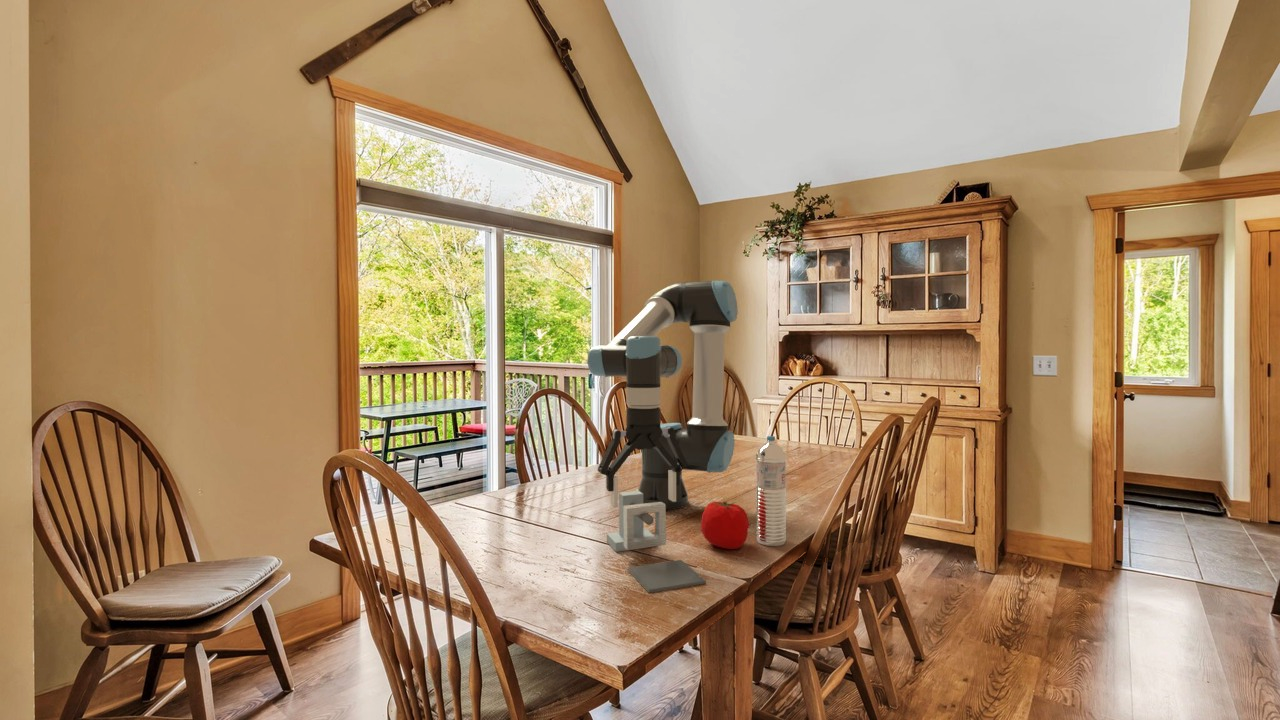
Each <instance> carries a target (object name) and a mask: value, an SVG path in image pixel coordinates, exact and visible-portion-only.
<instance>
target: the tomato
mask: <svg viewBox="0 0 1280 720" xmlns="http://www.w3.org/2000/svg"><path fill="white" fill-rule="evenodd" d="M736 503H737V501H735V502H732V503H728V502H727V501H712V502H710V503H707V506H706V507H705V508H704V511H703V512H702V516H701V521H700V528H701V533H702V536H703V537H704V538H705V540H706V541H707V542H708V543H710V544H711V545H713V546H716V547H718V548H722V549H725V550H726V549H727V550H738V549H739V548H741V547H743V545H744V544H745V542H747V537H748V532H749V529H750V521H749V516H748V514H747V512H746V511H745V509H744V508H742V507H741V506H740V505H738V504H736Z"/></svg>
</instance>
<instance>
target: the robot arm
mask: <svg viewBox="0 0 1280 720" xmlns="http://www.w3.org/2000/svg"><path fill="white" fill-rule="evenodd" d="M737 301H738V300H737V297H736V293H735V289H734V287H733V286H732V284H731V283H730V282H728V281H726V280H705V281H703V280H701V281H693V282H692V281H690V282H689V281H688V282H685V281H683V282H677V283H674V284H673V283H672V284H670V285H669V286H666V287H664V288H662V289H660V290H659V291H656V293H654V294H653V295H652V296H650V297H649V298H648V299H647V300H646V301H645V303H644V305H643V306H642V307H643V308H642V310H641V311H640V312H638V314H637V315H636V316H635V317H634V318H633V319H632V320H631V321H630V322H629V323H628V324H627V325H626V326H625V327H624V328H623V329H621V331H620V332H619V333H618V334H617V335H616V336H614V338H613V339H611V341H610V342H609V343H608V344H606V345H603V344H601V345H595V346H594V345H593V346H592V347H591V348H590V350H589V351H588V354H587V366H588V370H589V372H590V373H591V375H593V376H597V377H605V378H607V377H608V378H609V377H614V378H615V377H617V378H618V377H622V378H623V377H624V378H625V377H626V387H625V388H626V389H625V390H626V391H625V392H626V393H625V394H626V400H625V401H626V405H627V406H628V407H627V408H626V410H625V413H626V415H625V417H626V419H625V421H626V422H625V423H626V424H625V426H626V428H625V430H619V429H616V428H615V429H614V428H613V430H612V432H611V439H610V442H609V443H608V445H607V448H606V450H605V451H604V452H605V453H604V454H603V457H602V459H601V461H600V463H599V465H598V467H597V472H598V473H600V474H601V475H602V476H603V475H604V476H605V477H606V479H605V481H606V483H605V484H606V491H608V492H609V493H610V505H611V506H612V507H613V508H619V491H618V490H619V488H618V485H619V483H618V481H619V477H618V476H617V475H616V473H617V472H618V471H619V469H620V468H621V467H622V466H623V465H624V463H625V461H627V459H628V457H629V456H630V455H631V453H634V451H635V450H638V451H641V480H640V482H639V486H638V490H637V491H640V492H641V493H643V504H645V503H654V502H662V503H664V504H665V505H666V510H668V511H669V510H676V509H681V508H684V507H686V506H687V505H688V504H689V496H688V491H687V489H686V486H685V483H684V480H683V476H682V474H683V472H682V471H683V470H684V471H696V472H707V473H709V474H710V473H723V472H725V471H726V470H727V469H728V468H729V467H730V464H731V462H732V459H733V455H734V452H735V451H734V450H735V444H736V443H735V441H736V440H735V434H734V432H733V431H731V430H729V425H728V423H727V422H726V420H725V419H724V417H723V414H724V377H725V376H724V375H725V371H724V370H725V339H726V338H725V335H726V333H727V332H728V331H729V330H730V329H731V323H733V322H735V321H736V320H737V317H738V302H737ZM676 323H677V324H678V323H689V326H688V327H689V329H690V330H691V332H693V333H694V339H693V340H694V341H693V342H694V343H693V376H692V377H693V381H692V383H693V385H692V413H691V414H692V417H691V418H690V419H689V420H688V421H687V422H686V428H683V425H682V423H680V422H667V423H661V419H662V418H661V411H662V410H661V408H660V407H659V406H660V405H661V403H662V401H661V393H662V392H661V378H669V377H672V376H675V375H676V374H678V373H679V371H680V370H681V368H682V364H683V358H682V355H681V352H680V351H679V350H678V349H677V348H676V347H674V346H672V345H671V346H670V345H669V344H661V339H660V338H659V336H658V334H659V333H660V332H661V330H663V329H666V328H669V327H670V326H671V325H672V324H676ZM624 437H625V438H626V440H627V441H626V443H625V444H624V445H623V448H622V449H621V450H620V451H619V453H618V454H617V456H616V457H615V458H614V456H615V454H616V452H617V450H618V448H619V445H620V442H621V441H622V440H623V439H624ZM613 458H614V459H613ZM612 460H613V461H612Z"/></svg>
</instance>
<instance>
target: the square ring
mask: <svg viewBox="0 0 1280 720" xmlns="http://www.w3.org/2000/svg"><path fill="white" fill-rule="evenodd" d="M646 513H648V514H654V523H655V524H654V525H655V527H654V528H655V529H654V530H655V531H654V532H655V533H654V534H655V535H654V536H648V537H640V538H634V515H637V514H646ZM666 514H667V513H666V505H665V504H664V503H662V502H654V503H645V504H636V505H626V506H623V527H624V547H625V548H626V549H627V550H626V551H632V550H638V549H639V550H640V549H644V548H652V547H659V546H666V544H667V539H666V538H667V532H666V531H667V527H666V523H667V521H666V518H667V517H666V516H667V515H666Z"/></svg>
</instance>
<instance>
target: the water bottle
mask: <svg viewBox="0 0 1280 720" xmlns="http://www.w3.org/2000/svg"><path fill="white" fill-rule="evenodd" d="M766 441H767V442H765V444H763V445H762V446H761V447H760V448H759V449H758V450H757V452H756V455H755V456H756V457H755V460H756V491H755V492H756V493H755V494H756V495H755V497H756V499H755V500H756V501H755V502H756V511H755V512H756V515H755V516H756V519H755V520H756V523H755V524H756V527H755V528H756V532H755V533H756V542H757V543H758V544H760V545H762V546H766V547H767V546H768V547H780V546H783V545H784V544H785V543H786V540H787V504H786V503H787V488H786V461H787V454H786V452H785V451H784V449H783V448H782V447H781V446H780V445H779V444H777V443H776V436H773V435H768V436H766Z"/></svg>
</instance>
